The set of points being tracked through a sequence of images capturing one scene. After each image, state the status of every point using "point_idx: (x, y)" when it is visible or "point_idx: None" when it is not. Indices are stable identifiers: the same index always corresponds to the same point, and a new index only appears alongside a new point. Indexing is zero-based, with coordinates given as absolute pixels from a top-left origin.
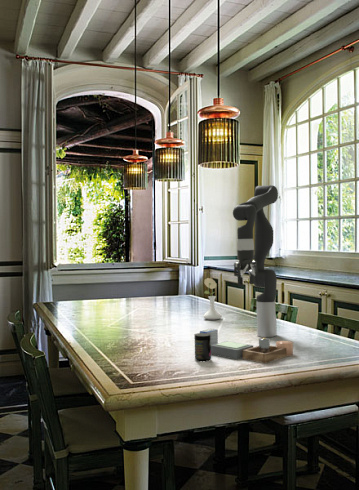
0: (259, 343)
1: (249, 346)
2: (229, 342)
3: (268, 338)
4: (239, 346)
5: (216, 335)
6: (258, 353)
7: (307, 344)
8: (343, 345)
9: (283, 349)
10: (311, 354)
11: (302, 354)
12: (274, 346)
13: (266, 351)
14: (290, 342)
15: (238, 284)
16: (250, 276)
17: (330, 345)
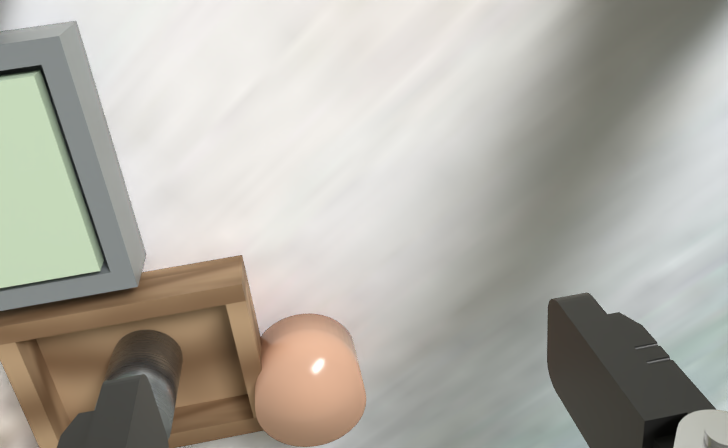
0: (96, 403)
1: (91, 294)
2: (19, 120)
3: (168, 434)
4: (5, 275)
5: None
6: (33, 431)
7: (620, 264)
8: (707, 389)
9: (244, 431)
10: (413, 428)
11: (378, 406)
12: (250, 366)
13: None
14: (341, 422)
15: (104, 400)
16: (633, 437)
17: (670, 353)
